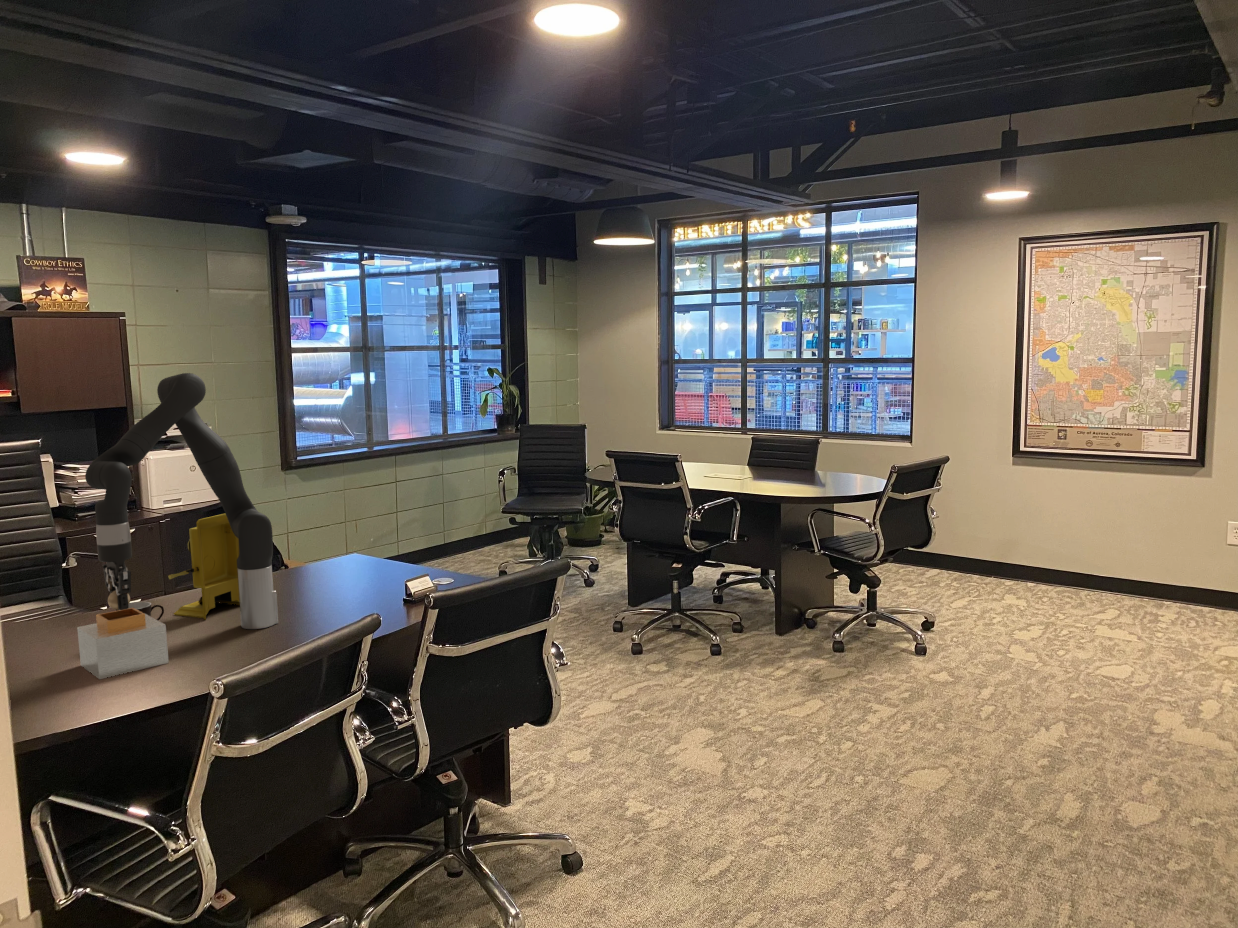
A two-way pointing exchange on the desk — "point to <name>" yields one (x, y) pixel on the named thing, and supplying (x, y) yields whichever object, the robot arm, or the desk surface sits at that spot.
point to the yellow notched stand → (212, 565)
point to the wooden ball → (115, 600)
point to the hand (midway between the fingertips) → (119, 606)
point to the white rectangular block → (122, 643)
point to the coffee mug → (145, 608)
